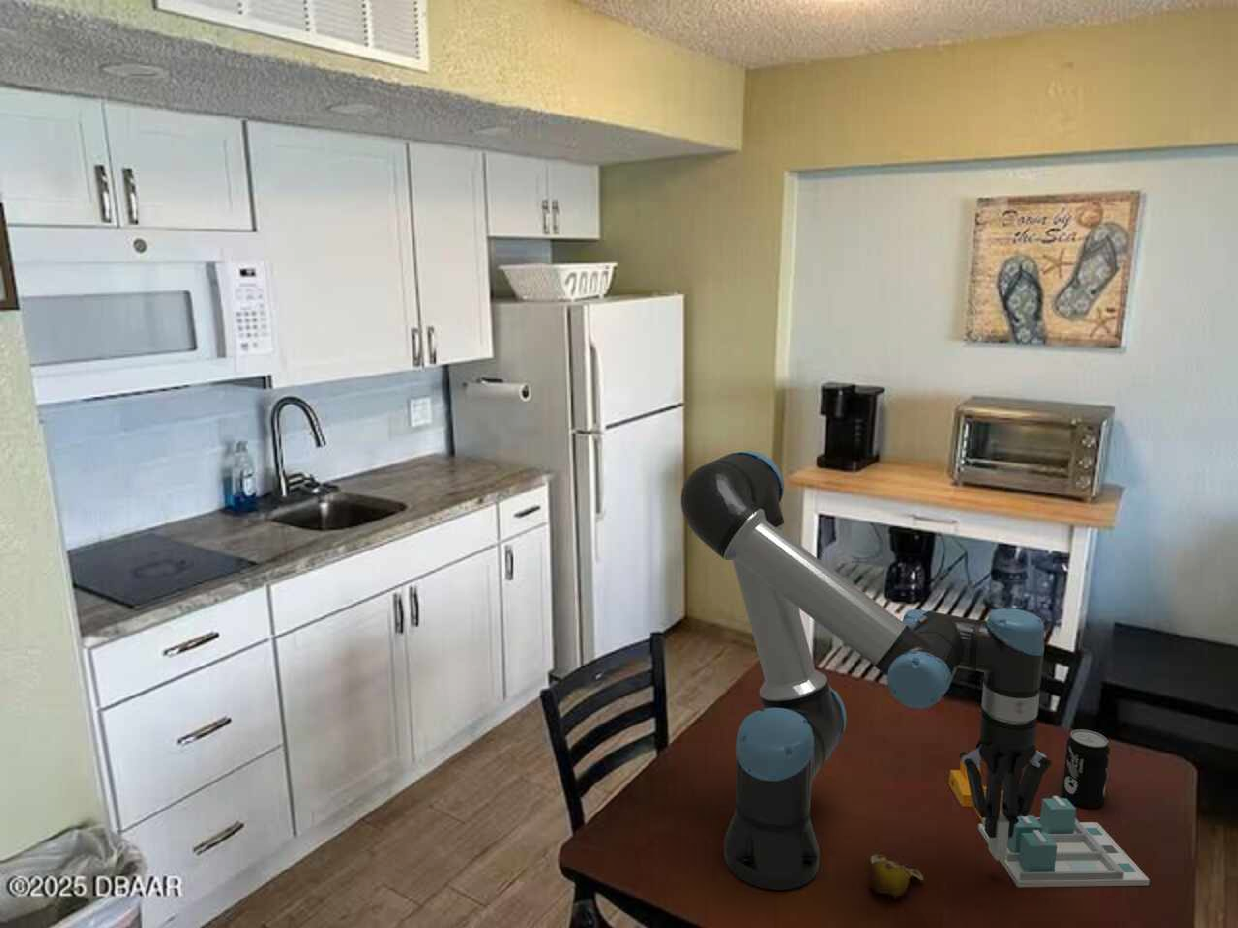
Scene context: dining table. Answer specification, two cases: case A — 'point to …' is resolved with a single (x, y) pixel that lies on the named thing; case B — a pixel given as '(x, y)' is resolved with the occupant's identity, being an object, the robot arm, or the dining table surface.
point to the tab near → (1037, 852)
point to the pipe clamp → (964, 787)
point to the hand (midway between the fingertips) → (996, 854)
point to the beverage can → (1085, 768)
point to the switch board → (1078, 861)
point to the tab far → (1057, 816)
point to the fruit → (890, 876)
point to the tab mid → (1022, 831)
